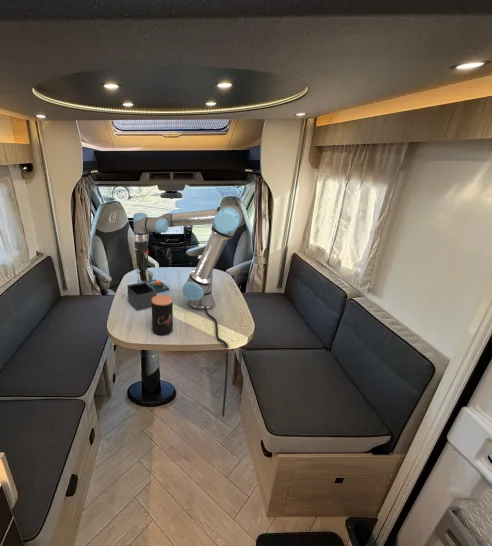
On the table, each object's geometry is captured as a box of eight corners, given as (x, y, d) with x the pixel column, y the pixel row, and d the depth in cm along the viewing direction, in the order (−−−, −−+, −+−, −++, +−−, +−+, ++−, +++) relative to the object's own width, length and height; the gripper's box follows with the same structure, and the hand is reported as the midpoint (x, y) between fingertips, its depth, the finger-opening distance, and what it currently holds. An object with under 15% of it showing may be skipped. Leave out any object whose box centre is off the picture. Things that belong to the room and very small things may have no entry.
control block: (169, 290, 208) (169, 284, 207) (155, 293, 204) (155, 287, 202) (160, 284, 218) (160, 279, 217) (147, 287, 213) (147, 281, 212)
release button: (161, 284, 209) (161, 281, 208) (157, 285, 207) (157, 282, 207) (159, 282, 212) (159, 280, 211) (154, 283, 210) (154, 281, 210)
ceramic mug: (153, 279, 227) (153, 269, 224) (152, 283, 219) (151, 273, 216) (139, 279, 227) (138, 269, 225) (137, 283, 220) (136, 273, 217)
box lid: (156, 280, 181) (153, 266, 181) (136, 284, 175) (133, 270, 176) (146, 282, 195) (143, 269, 195) (127, 286, 189) (124, 273, 189)
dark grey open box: (156, 305, 187) (156, 291, 183) (137, 310, 181) (136, 295, 178) (146, 296, 199) (145, 282, 195) (128, 301, 193) (127, 286, 189)
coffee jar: (157, 338, 154) (156, 305, 147) (149, 328, 163) (148, 297, 156) (176, 333, 158) (176, 301, 152) (167, 323, 167) (166, 293, 161)
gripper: (153, 243, 170) (153, 282, 178) (141, 237, 182) (142, 274, 191) (140, 244, 166) (142, 285, 175) (129, 238, 179) (131, 276, 187)
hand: (142, 279), depth 183 cm, fingers closed on box lid, 2 cm apart
